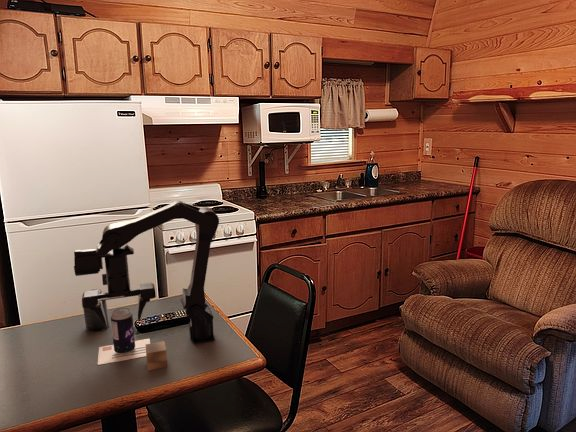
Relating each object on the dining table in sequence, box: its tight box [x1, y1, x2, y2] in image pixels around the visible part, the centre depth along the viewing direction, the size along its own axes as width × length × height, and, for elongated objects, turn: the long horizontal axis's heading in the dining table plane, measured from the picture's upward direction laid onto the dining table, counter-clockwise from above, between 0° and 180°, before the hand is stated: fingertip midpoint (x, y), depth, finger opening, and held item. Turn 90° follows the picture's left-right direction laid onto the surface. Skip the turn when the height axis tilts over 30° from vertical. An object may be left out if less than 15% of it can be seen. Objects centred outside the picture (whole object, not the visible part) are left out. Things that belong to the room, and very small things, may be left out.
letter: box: [97, 338, 151, 366], centre depth 127 cm, size 14×10×1 cm
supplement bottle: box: [82, 288, 110, 332], centre depth 140 cm, size 7×7×12 cm
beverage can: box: [110, 307, 136, 355], centre depth 125 cm, size 6×6×12 cm
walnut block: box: [145, 341, 168, 371], centre depth 120 cm, size 5×5×5 cm
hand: (122, 323), depth 125 cm, fingers open, 8 cm apart
